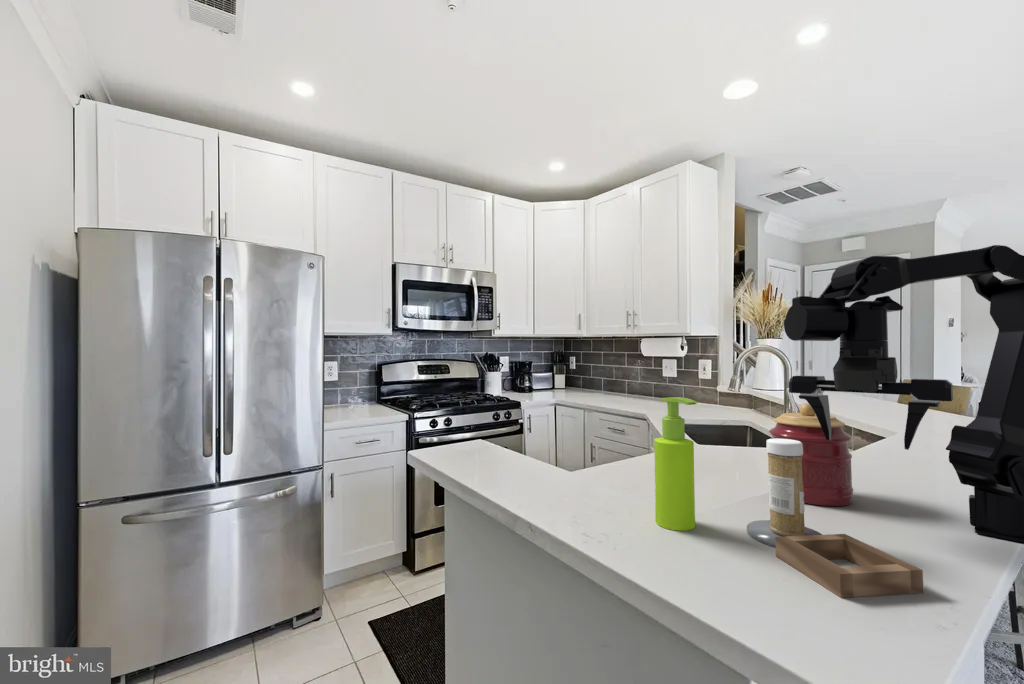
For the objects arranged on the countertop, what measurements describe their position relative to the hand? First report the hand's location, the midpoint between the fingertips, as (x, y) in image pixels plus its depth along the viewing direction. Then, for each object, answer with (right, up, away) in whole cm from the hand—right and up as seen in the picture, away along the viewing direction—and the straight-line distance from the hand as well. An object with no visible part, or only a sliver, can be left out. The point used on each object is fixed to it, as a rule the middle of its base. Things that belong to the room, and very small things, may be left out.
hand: (865, 444), depth 65 cm
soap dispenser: (-27, -14, +3) cm, 31 cm away
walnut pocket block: (-13, -13, -13) cm, 22 cm away
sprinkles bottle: (-13, -13, -2) cm, 18 cm away
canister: (+3, -14, +17) cm, 22 cm away
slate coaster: (-13, -13, -2) cm, 19 cm away
